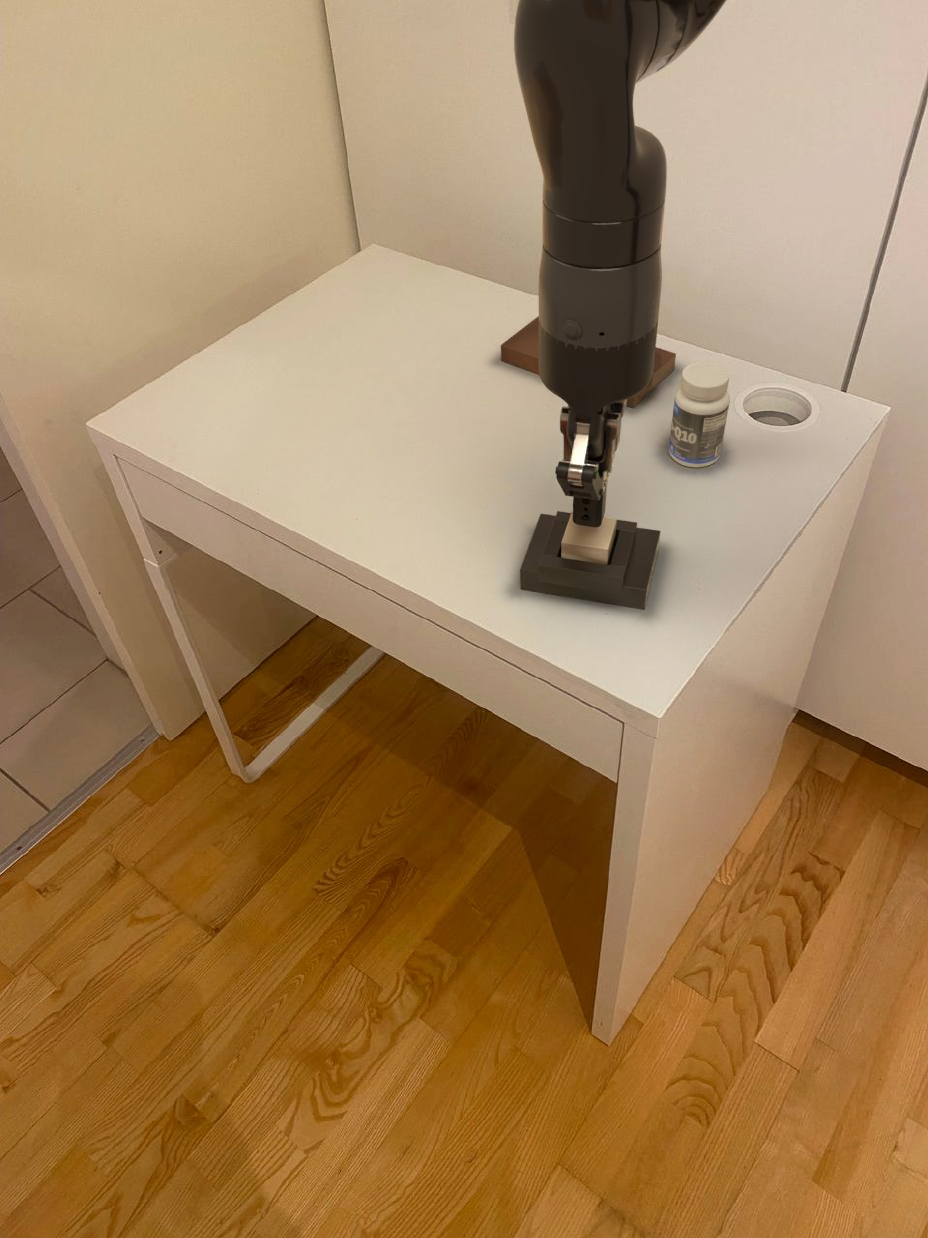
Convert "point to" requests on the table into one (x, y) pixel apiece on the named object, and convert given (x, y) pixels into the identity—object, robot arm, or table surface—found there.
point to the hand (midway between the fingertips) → (588, 519)
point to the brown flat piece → (526, 356)
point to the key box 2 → (591, 565)
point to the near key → (589, 541)
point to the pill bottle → (699, 415)
